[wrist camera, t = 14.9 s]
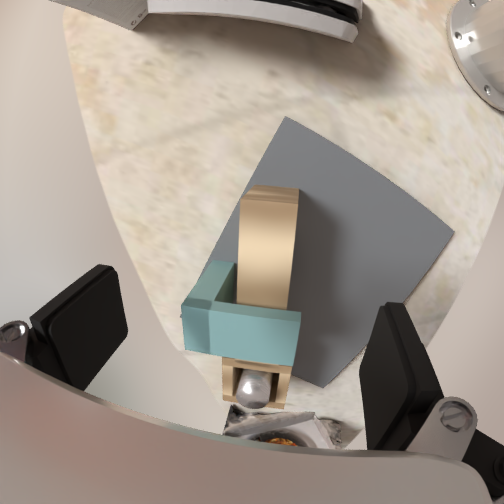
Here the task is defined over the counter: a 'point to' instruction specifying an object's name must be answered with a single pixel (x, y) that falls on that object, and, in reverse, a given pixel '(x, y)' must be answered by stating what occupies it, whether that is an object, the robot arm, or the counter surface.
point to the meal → (284, 429)
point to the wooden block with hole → (264, 274)
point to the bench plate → (339, 246)
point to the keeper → (236, 322)
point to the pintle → (254, 388)
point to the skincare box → (112, 10)
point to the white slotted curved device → (276, 13)
